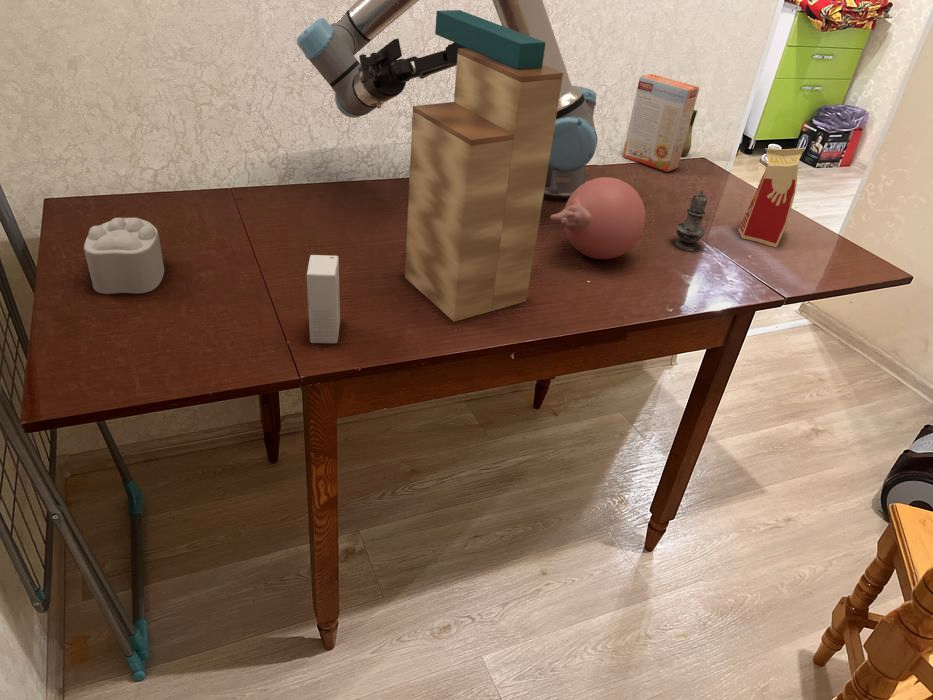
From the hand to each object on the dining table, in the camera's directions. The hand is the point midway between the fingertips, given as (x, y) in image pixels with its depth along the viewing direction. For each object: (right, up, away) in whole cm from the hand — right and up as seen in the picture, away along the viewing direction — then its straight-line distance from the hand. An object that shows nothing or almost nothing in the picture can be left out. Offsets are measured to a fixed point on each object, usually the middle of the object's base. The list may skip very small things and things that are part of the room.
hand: (434, 45), depth 119 cm
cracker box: (+54, -2, +68) cm, 87 cm away
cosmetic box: (-16, -49, -9) cm, 52 cm away
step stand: (+5, -40, +5) cm, 41 cm away
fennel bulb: (+64, +3, +76) cm, 99 cm away
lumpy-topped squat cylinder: (-51, -38, 0) cm, 64 cm away
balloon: (+29, -33, +20) cm, 48 cm away
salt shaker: (+51, -29, +29) cm, 65 cm away
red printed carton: (+69, -26, +36) cm, 82 cm away
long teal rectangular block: (+8, -5, -11) cm, 15 cm away
